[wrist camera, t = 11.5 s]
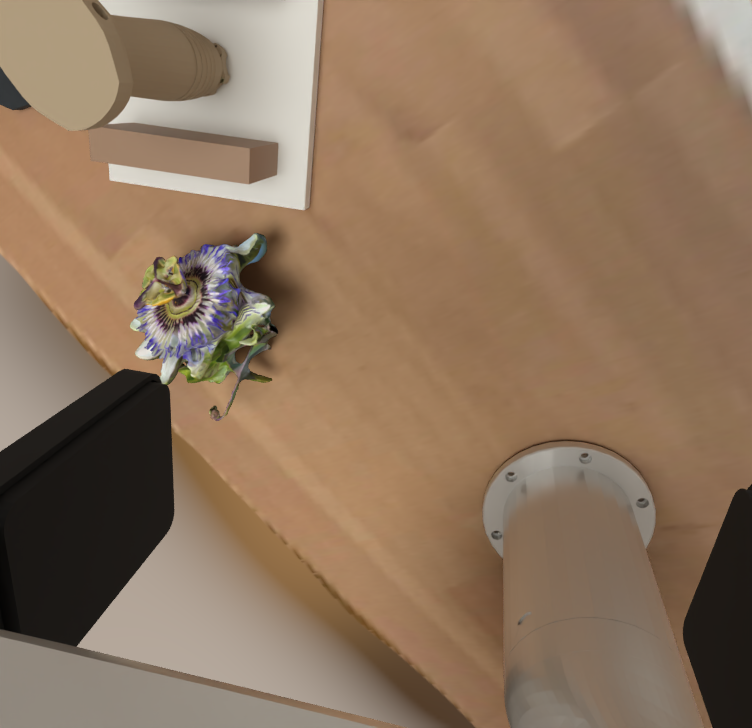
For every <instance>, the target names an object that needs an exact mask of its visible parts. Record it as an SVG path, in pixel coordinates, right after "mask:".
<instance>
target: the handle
mask: <svg viewBox="0 0 752 728" xmlns="http://www.w3.org/2000/svg"><path fill="white" fill-rule="evenodd" d="M226 58H227V53H226V51H225V49H224V48H223V47H222V46H220V45H219V44H217V43H212V42H211V41H210V40H209V39H207V38H206V37H205V36H203V35H201V34H200V33H198V32H196V31H194V30H192V29H189V28H187V27H184V26H182V25H178V24H175V23H172V22H168V21H163V20H157V19H146V18H136V17H125V16H117V15H110V13H109V12H108V11H107V10H106V9H105V7H104V6H103V5H102V4H101V3H100V2H99V1H98V0H0V67H1V68H2V70H3V71H4V73H5V74H6V76H7V77H8V78H9V80H10V81H11V82H12V84H13V85H14V86H15V87H16V89H17V90H18V91H19V93H20V94H21V95H22V97H23V98H24V99H25V100H26V101H27V102H28V103H29V104H30V105H31V106H32V107H33V108H34V109H36V110H37V111H38V112H39V113H41V114H42V115H44V116H45V117H47V118H48V119H50V120H52V121H53V122H55V123H57V124H58V125H60V126H62V127H63V128H65V129H67V130H68V131H80V130H90V129H96V128H100V127H102V126H104V125H106V124H108V123H110V122H111V121H112V120H114V119H115V118H116V117H117V116H118V115H119V114H120V113H121V112H122V111H123V110H124V108H125V106H126V105H127V103H128V101H129V99H130V96H131V97H138V98H146V99H153V100H160V101H186V100H192V99H196V98H200V97H206V96H211V95H214V94H215V93H216V92H217V89H218V88H219V87H220V86H221V85H223V84H227V83H228V81H229V79H230V75H229V74H228V71H227V67H226Z"/></svg>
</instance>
